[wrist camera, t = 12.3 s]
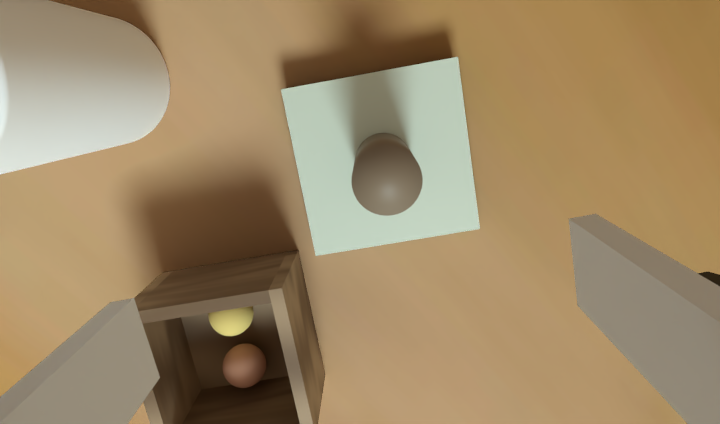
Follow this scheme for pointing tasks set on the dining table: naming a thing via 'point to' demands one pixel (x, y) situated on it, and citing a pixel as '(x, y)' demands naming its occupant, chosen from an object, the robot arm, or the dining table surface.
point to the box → (232, 343)
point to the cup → (73, 83)
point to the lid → (383, 156)
